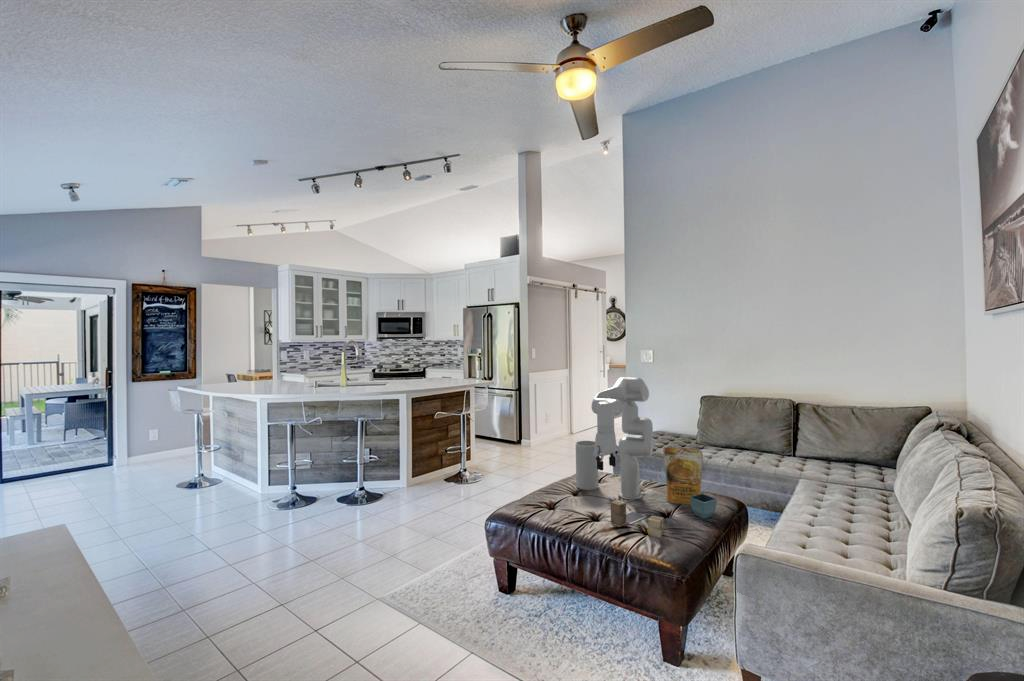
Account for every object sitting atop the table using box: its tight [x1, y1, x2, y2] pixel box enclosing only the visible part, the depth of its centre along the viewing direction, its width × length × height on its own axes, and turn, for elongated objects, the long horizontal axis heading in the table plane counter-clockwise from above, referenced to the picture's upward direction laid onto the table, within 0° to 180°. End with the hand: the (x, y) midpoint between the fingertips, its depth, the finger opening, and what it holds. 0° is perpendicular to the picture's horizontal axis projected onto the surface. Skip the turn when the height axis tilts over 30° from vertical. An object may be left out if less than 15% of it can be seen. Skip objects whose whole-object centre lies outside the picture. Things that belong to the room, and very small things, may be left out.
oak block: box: [647, 515, 664, 538], centre depth 213 cm, size 5×5×7 cm
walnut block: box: [610, 499, 627, 528], centre depth 224 cm, size 5×5×10 cm
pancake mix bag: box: [662, 446, 703, 506], centre depth 248 cm, size 7×19×28 cm, turn 69°
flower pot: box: [690, 493, 718, 519], centre depth 230 cm, size 9×9×9 cm
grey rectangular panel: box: [626, 510, 647, 525], centre depth 231 cm, size 12×9×1 cm
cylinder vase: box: [575, 440, 600, 491], centre depth 274 cm, size 12×12×25 cm
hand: (606, 467), depth 219 cm, fingers open, 7 cm apart
